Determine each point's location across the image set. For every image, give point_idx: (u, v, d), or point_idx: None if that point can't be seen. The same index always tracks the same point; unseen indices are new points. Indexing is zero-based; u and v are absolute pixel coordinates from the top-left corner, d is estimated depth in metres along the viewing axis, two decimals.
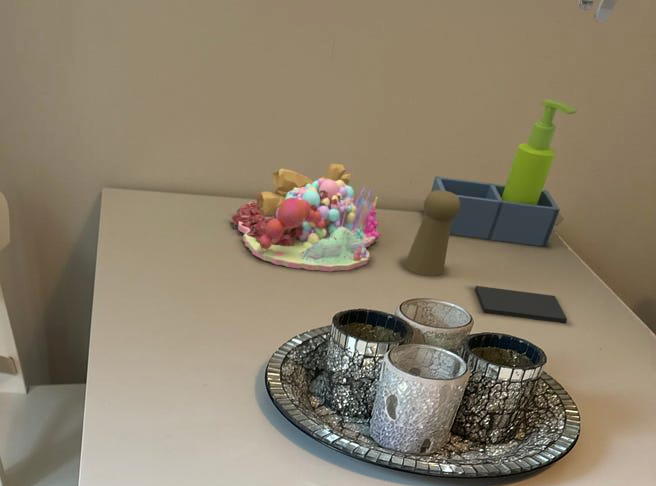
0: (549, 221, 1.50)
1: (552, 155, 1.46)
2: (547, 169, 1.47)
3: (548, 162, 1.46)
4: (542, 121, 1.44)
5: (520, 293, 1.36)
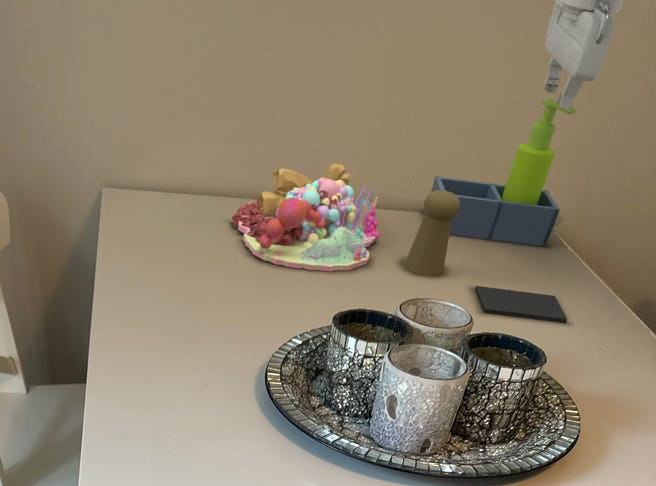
0: (549, 221, 1.50)
1: (552, 155, 1.46)
2: (547, 169, 1.47)
3: (548, 162, 1.46)
4: (542, 121, 1.44)
5: (520, 293, 1.36)
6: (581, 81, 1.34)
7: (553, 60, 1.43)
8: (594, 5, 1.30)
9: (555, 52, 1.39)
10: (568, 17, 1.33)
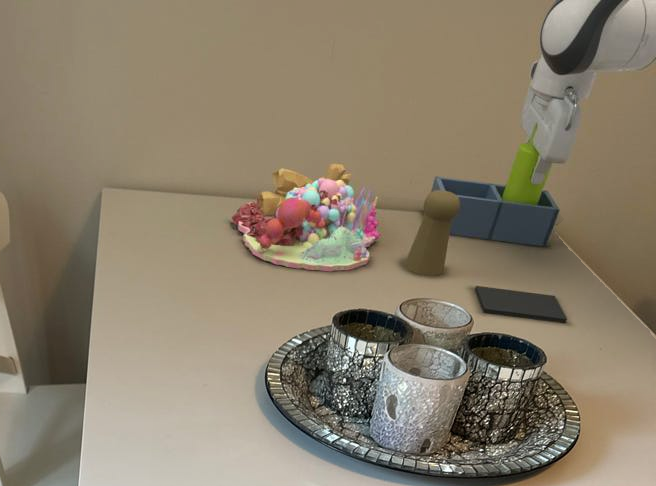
0: (549, 221, 1.50)
1: None
2: None
3: None
4: None
5: (520, 293, 1.36)
6: None
7: (529, 139, 1.50)
8: (564, 93, 1.38)
9: (529, 132, 1.47)
10: (540, 103, 1.41)
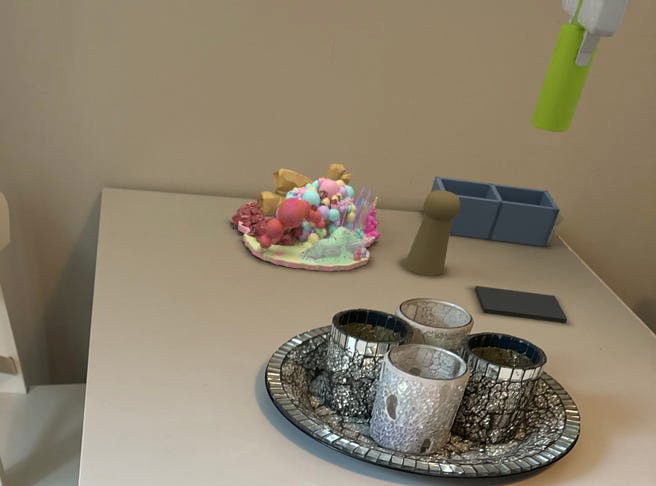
0: (549, 221, 1.50)
1: None
2: (593, 51, 1.35)
3: None
4: None
5: (520, 293, 1.36)
6: (598, 36, 1.31)
7: None
8: None
9: (573, 10, 1.35)
10: None
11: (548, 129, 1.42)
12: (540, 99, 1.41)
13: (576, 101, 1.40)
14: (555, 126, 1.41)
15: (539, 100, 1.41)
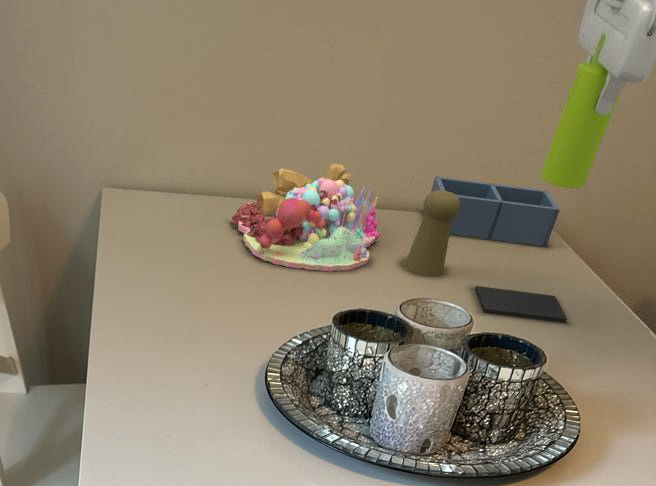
0: (549, 221, 1.50)
1: None
2: None
3: None
4: None
5: (520, 293, 1.36)
6: (624, 80, 1.10)
7: None
8: None
9: (592, 47, 1.14)
10: (610, 4, 1.08)
11: (561, 185, 1.21)
12: (552, 150, 1.20)
13: (595, 153, 1.19)
14: (570, 181, 1.20)
15: (551, 151, 1.20)
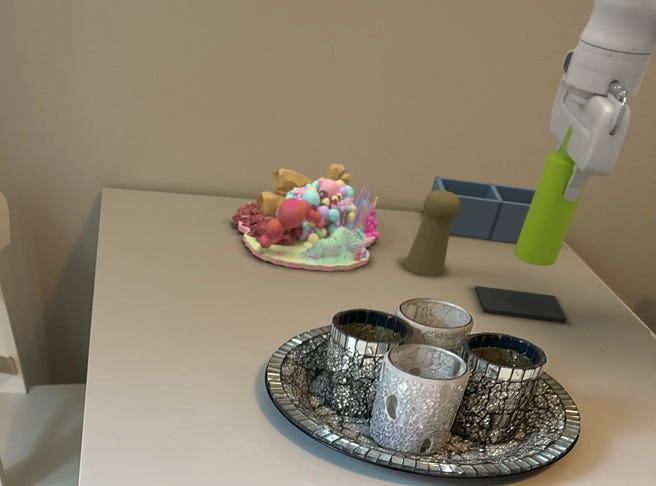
0: None
1: None
2: None
3: None
4: None
5: (520, 293, 1.36)
6: None
7: (561, 146, 1.23)
8: (607, 89, 1.11)
9: (561, 137, 1.21)
10: (576, 101, 1.14)
11: (533, 263, 1.27)
12: (524, 230, 1.26)
13: (564, 234, 1.25)
14: (541, 260, 1.27)
15: (523, 231, 1.27)
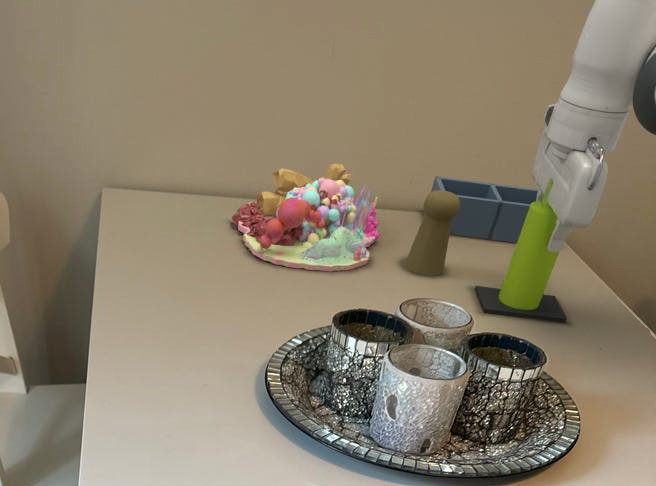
0: None
1: None
2: None
3: None
4: None
5: None
6: None
7: (542, 192, 1.28)
8: (586, 145, 1.15)
9: (543, 187, 1.25)
10: (557, 155, 1.19)
11: (517, 307, 1.32)
12: (508, 276, 1.31)
13: (546, 280, 1.30)
14: (524, 304, 1.31)
15: (507, 277, 1.31)
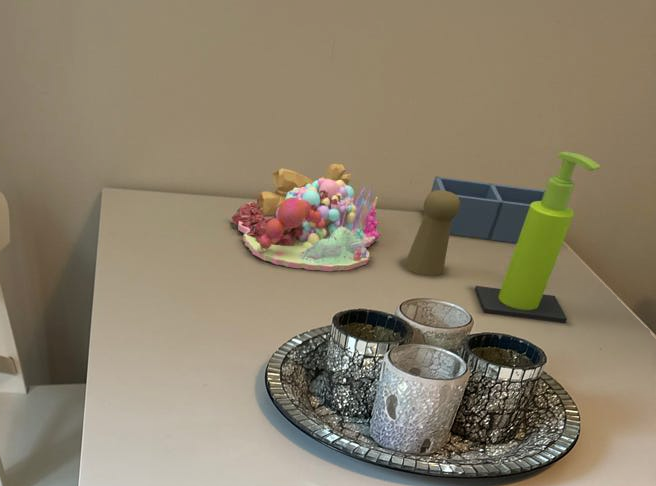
0: None
1: (570, 217, 1.23)
2: (564, 232, 1.25)
3: (565, 225, 1.24)
4: (559, 177, 1.22)
5: None
6: None
7: None
8: None
9: None
10: None
11: (517, 307, 1.32)
12: (508, 276, 1.31)
13: (546, 280, 1.30)
14: (524, 304, 1.31)
15: (507, 277, 1.31)
